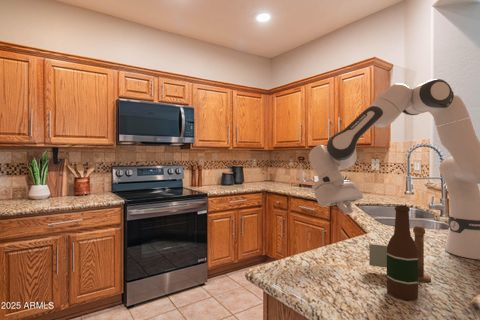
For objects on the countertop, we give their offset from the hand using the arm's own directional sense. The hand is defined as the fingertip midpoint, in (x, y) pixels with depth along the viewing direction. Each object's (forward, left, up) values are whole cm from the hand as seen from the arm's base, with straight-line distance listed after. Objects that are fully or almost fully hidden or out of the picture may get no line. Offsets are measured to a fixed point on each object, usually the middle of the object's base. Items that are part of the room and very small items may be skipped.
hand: (349, 213), depth 101 cm
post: (-13, +18, -17) cm, 28 cm away
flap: (-6, +14, -15) cm, 21 cm away
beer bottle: (0, +27, -17) cm, 32 cm away
